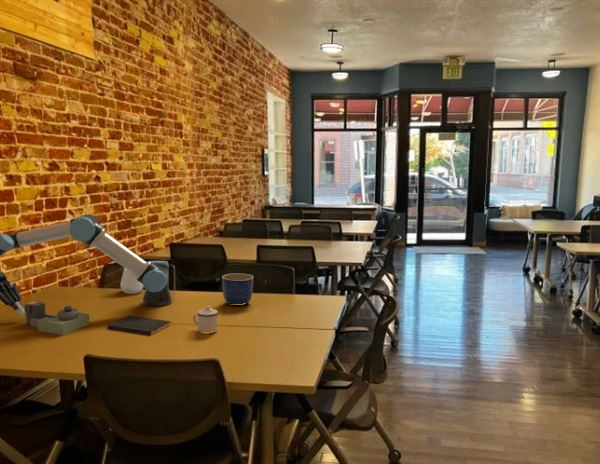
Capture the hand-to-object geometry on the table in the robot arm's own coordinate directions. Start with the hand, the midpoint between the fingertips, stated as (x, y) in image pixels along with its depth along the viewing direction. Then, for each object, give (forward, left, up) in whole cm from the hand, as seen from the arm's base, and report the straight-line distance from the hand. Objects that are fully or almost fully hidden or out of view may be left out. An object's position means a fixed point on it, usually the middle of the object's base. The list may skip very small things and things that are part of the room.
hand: (23, 314), depth 229 cm
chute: (-7, 0, -3) cm, 8 cm away
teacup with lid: (-83, -21, -4) cm, 86 cm away
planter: (-79, -67, -4) cm, 103 cm away
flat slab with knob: (-19, 0, -3) cm, 20 cm away
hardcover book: (-53, -14, -4) cm, 55 cm away
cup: (-12, -65, -4) cm, 66 cm away
